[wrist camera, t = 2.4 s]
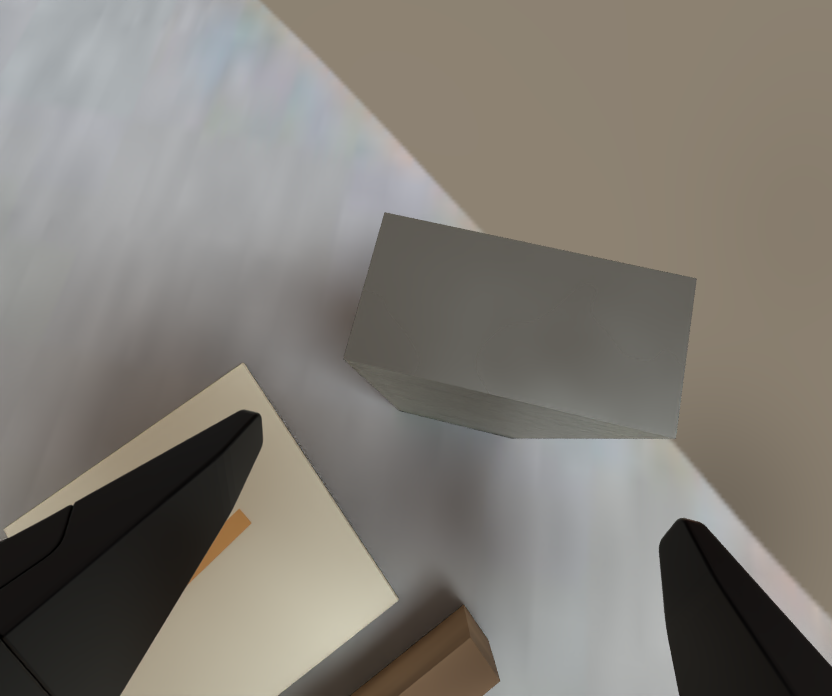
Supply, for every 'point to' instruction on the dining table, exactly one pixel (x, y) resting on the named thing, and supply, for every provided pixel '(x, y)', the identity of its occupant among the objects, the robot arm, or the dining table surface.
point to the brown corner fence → (440, 663)
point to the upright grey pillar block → (520, 335)
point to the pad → (249, 563)
